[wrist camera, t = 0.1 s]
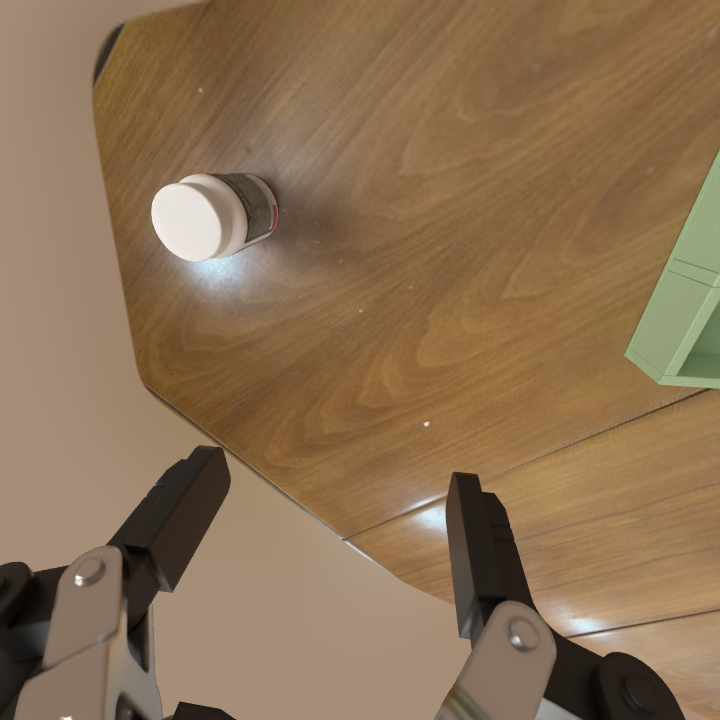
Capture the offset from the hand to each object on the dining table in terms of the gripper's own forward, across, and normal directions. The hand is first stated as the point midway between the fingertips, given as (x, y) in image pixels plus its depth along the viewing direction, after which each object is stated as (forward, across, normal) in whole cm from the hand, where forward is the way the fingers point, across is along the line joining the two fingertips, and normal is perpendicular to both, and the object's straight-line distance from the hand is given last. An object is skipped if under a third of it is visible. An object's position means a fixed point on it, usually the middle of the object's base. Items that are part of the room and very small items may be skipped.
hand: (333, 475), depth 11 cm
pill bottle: (+19, +10, -7) cm, 22 cm away
